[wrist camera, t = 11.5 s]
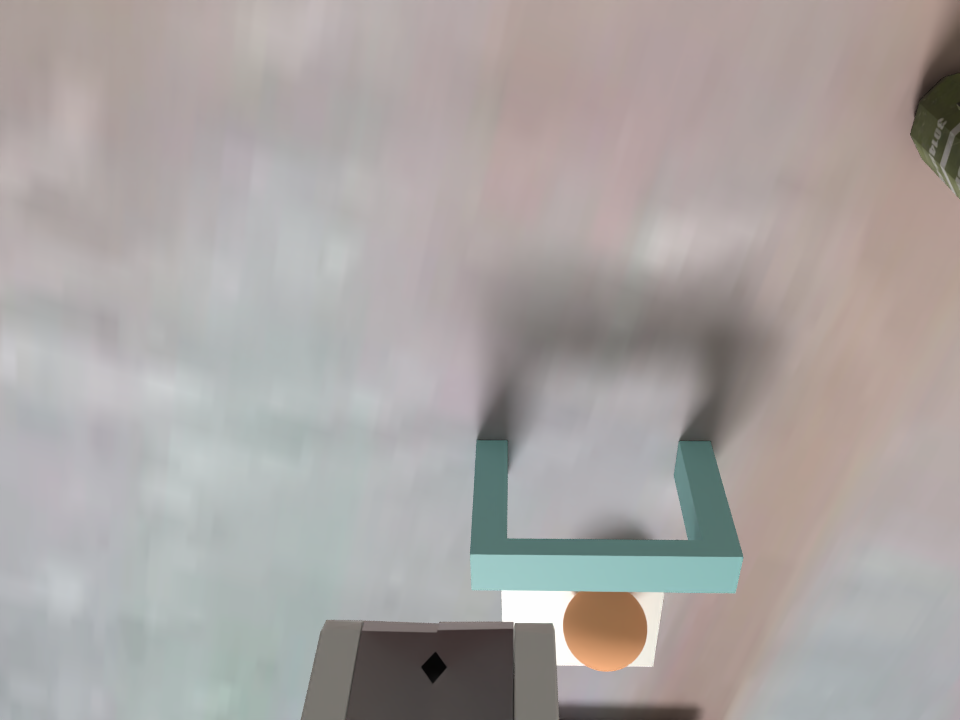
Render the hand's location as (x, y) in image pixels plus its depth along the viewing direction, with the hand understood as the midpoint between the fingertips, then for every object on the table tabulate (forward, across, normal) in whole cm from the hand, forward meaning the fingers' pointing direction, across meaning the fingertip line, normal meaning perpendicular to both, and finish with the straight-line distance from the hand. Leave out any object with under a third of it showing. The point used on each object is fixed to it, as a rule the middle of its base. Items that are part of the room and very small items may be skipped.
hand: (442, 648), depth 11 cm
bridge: (+35, +6, -28) cm, 45 cm away
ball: (+32, +7, -41) cm, 53 cm away
